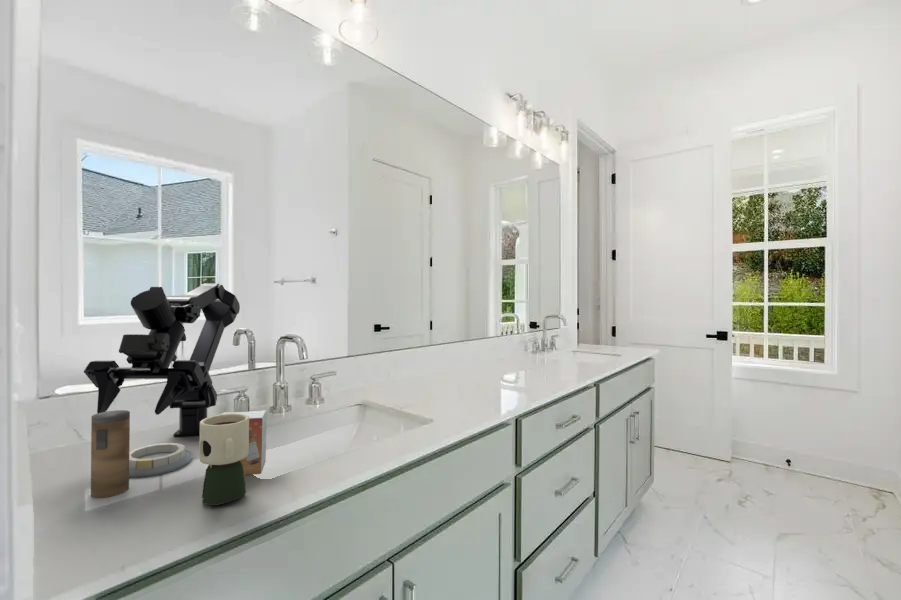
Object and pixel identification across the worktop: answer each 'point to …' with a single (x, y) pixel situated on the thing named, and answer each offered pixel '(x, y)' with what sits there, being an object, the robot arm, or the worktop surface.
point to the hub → (158, 459)
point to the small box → (255, 442)
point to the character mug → (223, 456)
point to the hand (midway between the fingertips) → (128, 414)
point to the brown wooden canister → (110, 453)
